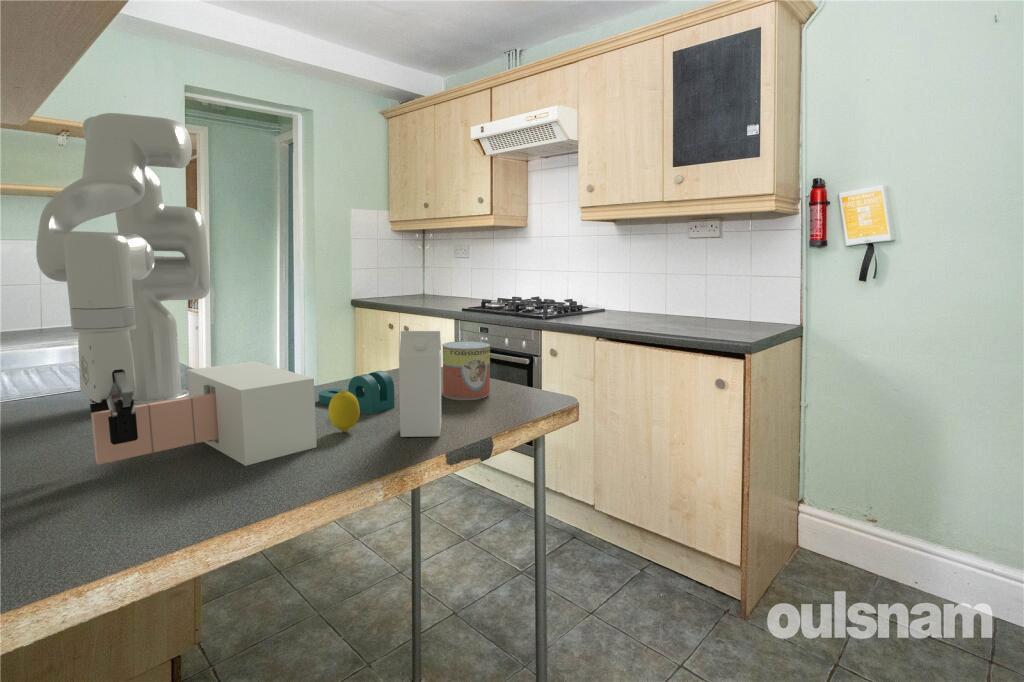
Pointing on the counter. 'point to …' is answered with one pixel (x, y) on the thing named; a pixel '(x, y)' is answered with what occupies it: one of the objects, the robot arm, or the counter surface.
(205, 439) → the strip
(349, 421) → the lemon
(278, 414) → the ticket dispenser
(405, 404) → the milk carton
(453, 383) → the canned food
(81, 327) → the robot arm
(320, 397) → the bracket
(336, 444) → the counter surface
